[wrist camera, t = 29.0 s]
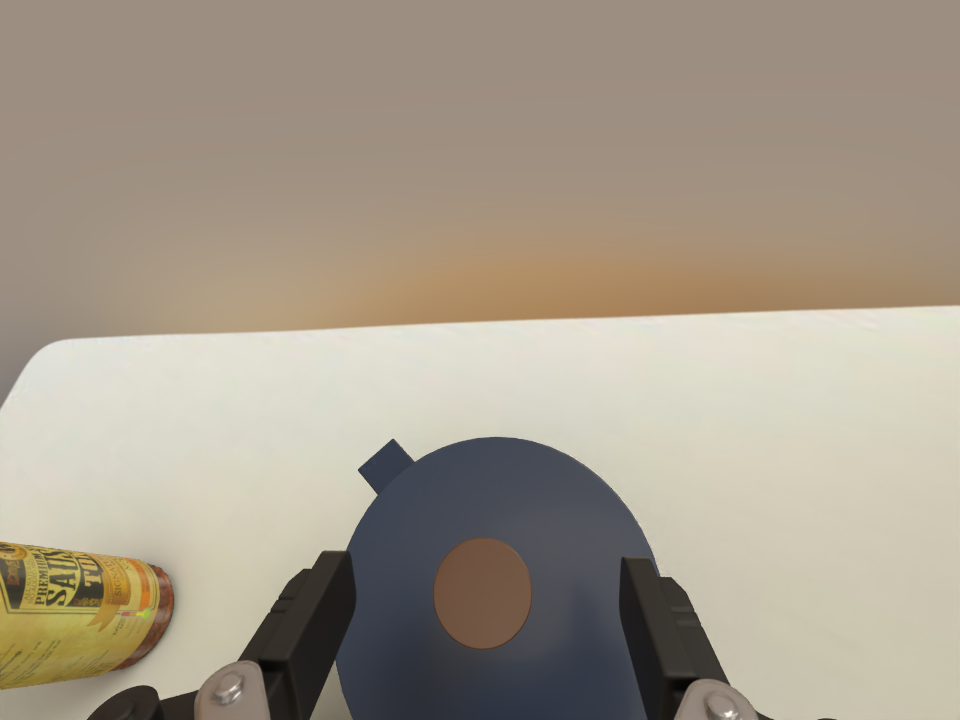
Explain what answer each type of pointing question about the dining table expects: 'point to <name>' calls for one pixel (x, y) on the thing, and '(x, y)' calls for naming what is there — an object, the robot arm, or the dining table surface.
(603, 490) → the lid
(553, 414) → the dining table surface
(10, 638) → the sauce bottle
